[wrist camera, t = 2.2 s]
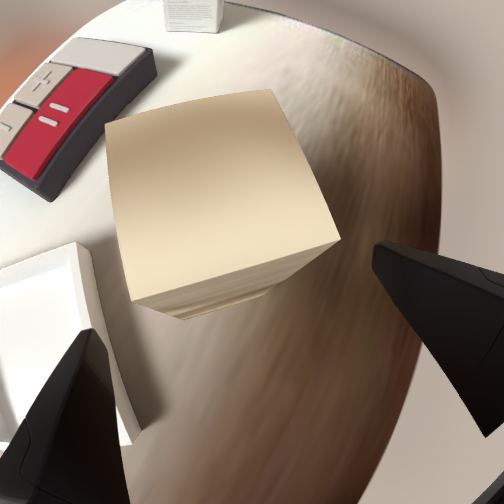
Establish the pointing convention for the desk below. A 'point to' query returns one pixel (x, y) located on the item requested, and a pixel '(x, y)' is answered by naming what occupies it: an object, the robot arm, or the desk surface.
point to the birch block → (212, 202)
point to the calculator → (69, 110)
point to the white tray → (49, 332)
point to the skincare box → (193, 15)
